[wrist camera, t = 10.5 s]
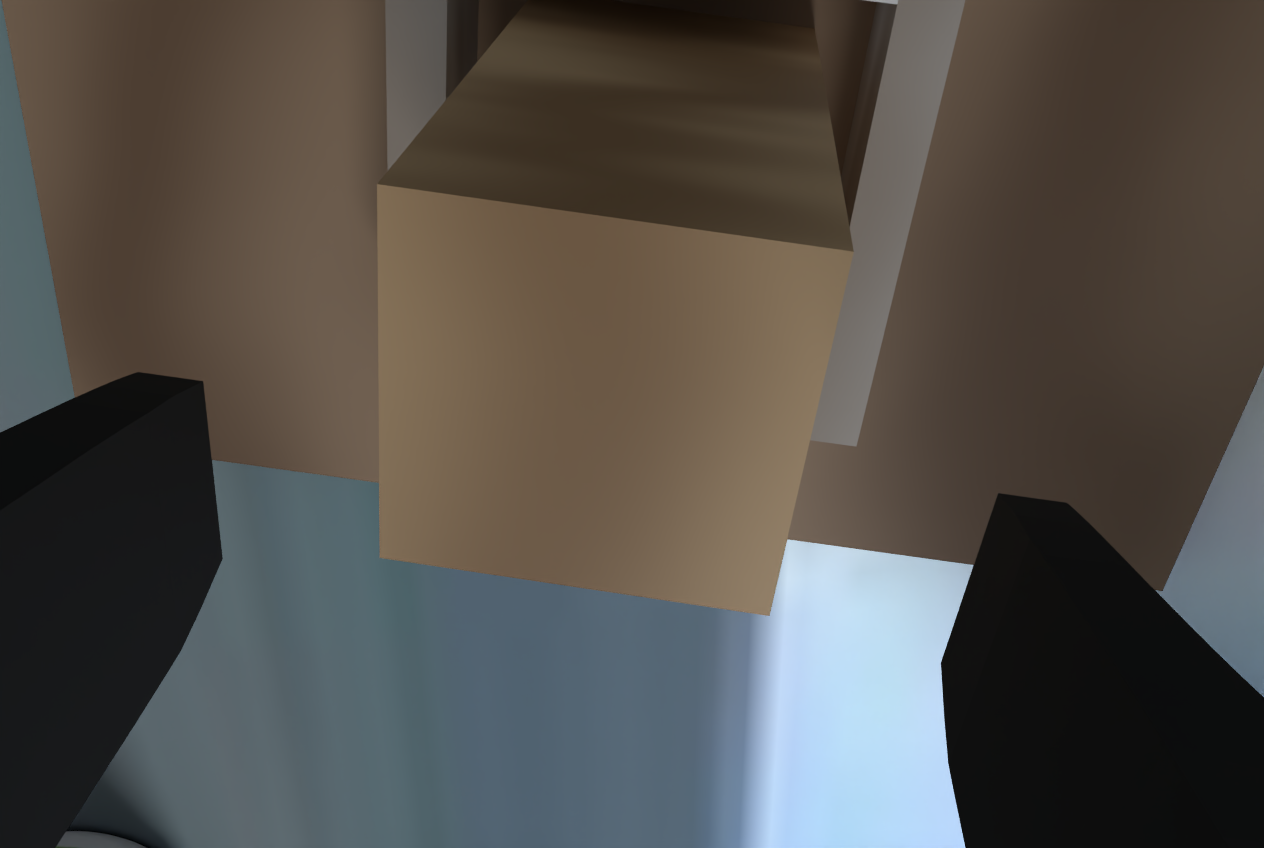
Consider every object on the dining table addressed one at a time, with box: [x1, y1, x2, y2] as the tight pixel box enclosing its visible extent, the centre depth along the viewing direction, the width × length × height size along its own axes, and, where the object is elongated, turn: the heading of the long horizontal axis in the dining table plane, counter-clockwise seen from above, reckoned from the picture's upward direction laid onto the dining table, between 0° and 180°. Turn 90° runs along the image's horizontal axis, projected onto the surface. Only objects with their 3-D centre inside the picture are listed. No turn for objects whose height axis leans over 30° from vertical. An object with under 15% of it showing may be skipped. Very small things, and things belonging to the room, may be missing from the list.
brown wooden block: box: [377, 0, 854, 616], centre depth 14 cm, size 4×4×8 cm
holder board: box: [2, 0, 1264, 591], centre depth 17 cm, size 20×14×3 cm
